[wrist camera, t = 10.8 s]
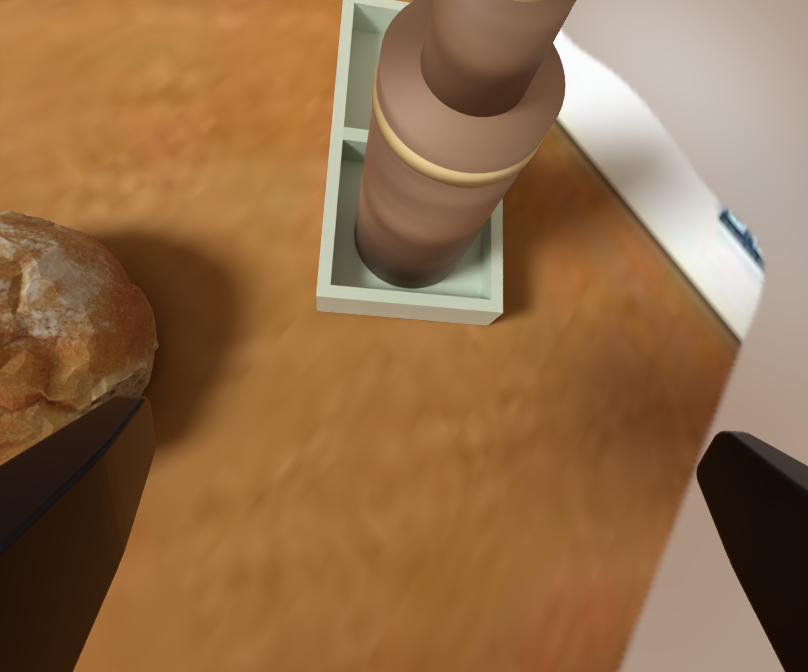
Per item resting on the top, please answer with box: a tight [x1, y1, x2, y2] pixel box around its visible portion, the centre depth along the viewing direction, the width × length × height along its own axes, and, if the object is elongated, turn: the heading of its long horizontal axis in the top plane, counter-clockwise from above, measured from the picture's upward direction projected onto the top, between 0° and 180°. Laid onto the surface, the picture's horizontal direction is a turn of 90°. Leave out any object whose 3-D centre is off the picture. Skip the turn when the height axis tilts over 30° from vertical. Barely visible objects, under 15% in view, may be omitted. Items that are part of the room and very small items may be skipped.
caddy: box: [316, 0, 503, 326], centre depth 23 cm, size 14×7×2 cm, turn 177°
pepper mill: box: [354, 0, 576, 289], centre depth 16 cm, size 5×5×14 cm
